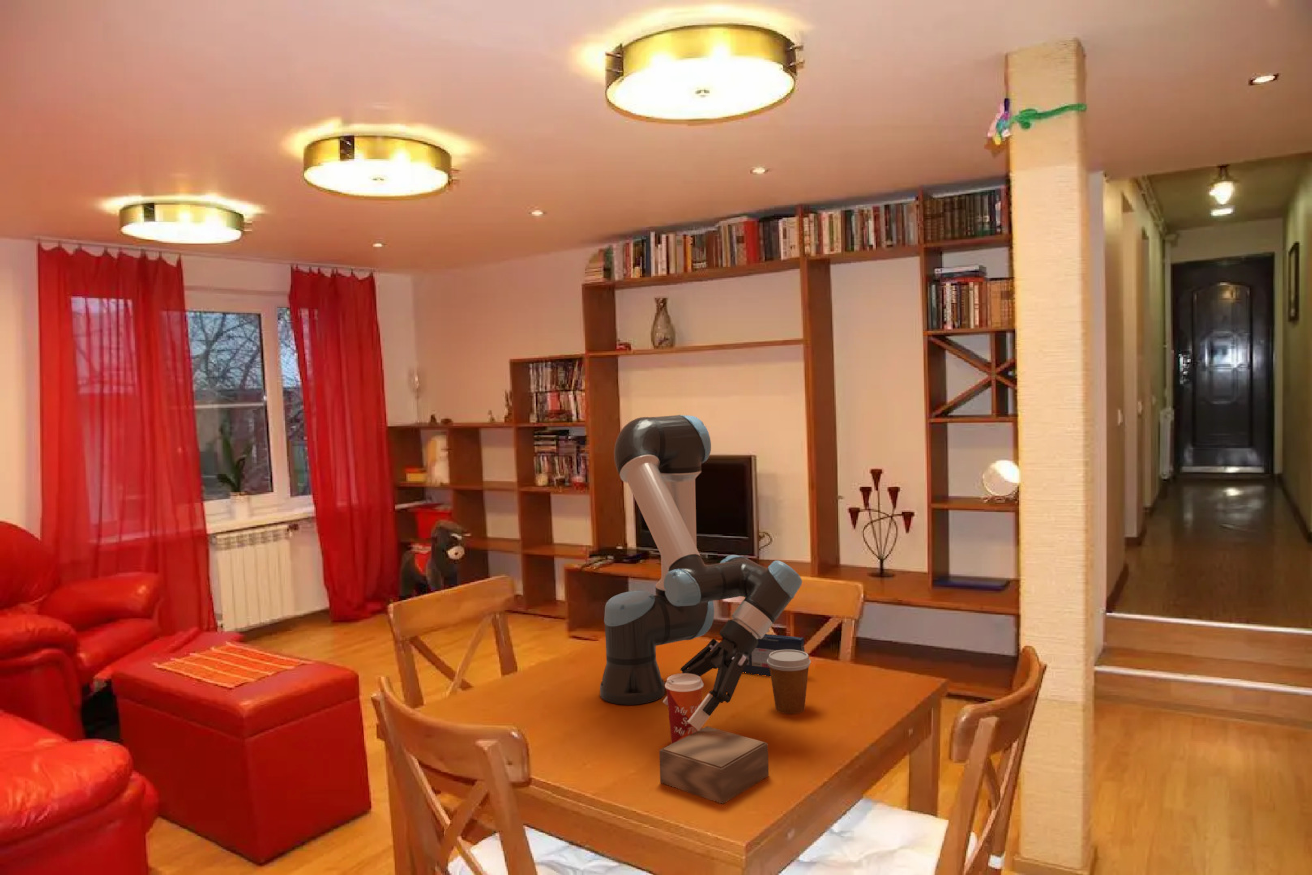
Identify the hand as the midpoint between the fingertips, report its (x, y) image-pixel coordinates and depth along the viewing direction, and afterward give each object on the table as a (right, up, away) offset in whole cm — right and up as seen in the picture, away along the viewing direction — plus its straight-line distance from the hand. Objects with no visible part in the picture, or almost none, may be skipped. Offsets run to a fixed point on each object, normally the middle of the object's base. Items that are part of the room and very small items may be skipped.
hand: (679, 716), depth 174 cm
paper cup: (+1, -7, +2) cm, 8 cm away
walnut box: (+6, -8, -12) cm, 16 cm away
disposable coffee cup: (+25, -5, +21) cm, 33 cm away
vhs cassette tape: (+23, -4, +45) cm, 51 cm away
